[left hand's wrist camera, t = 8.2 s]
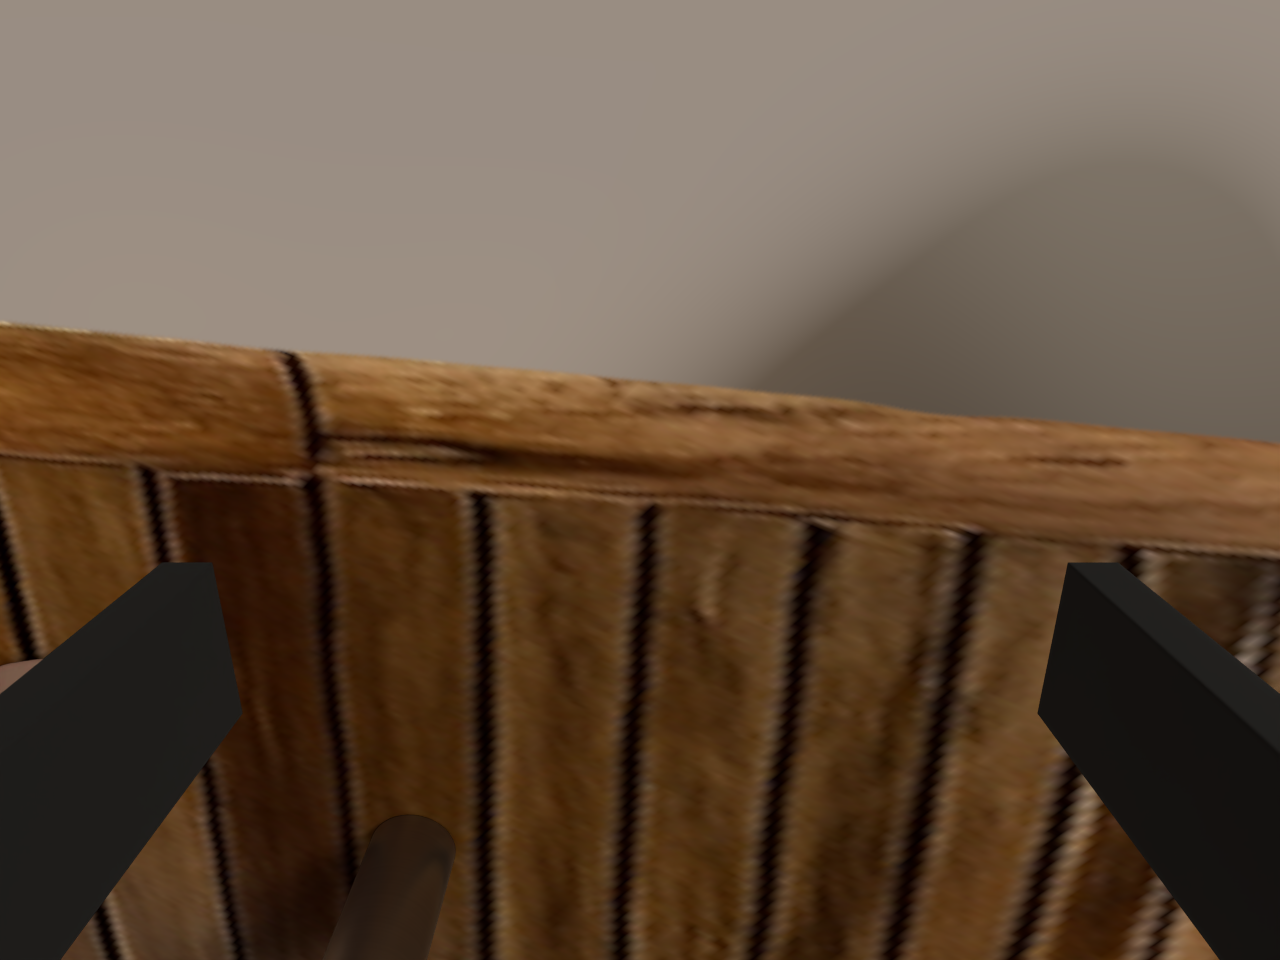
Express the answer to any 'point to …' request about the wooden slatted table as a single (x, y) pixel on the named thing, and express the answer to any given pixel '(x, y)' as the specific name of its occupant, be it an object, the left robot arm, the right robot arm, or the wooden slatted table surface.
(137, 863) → the wooden slatted table surface
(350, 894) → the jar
